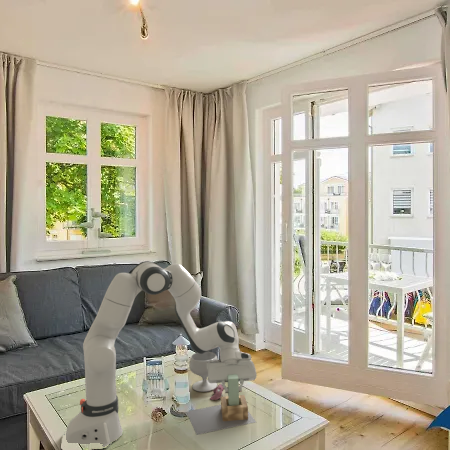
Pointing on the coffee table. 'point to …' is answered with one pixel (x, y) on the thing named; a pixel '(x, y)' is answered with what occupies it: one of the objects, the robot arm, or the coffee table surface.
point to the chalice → (202, 370)
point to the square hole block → (234, 409)
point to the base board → (213, 420)
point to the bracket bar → (233, 390)
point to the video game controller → (217, 392)
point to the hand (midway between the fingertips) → (233, 392)
